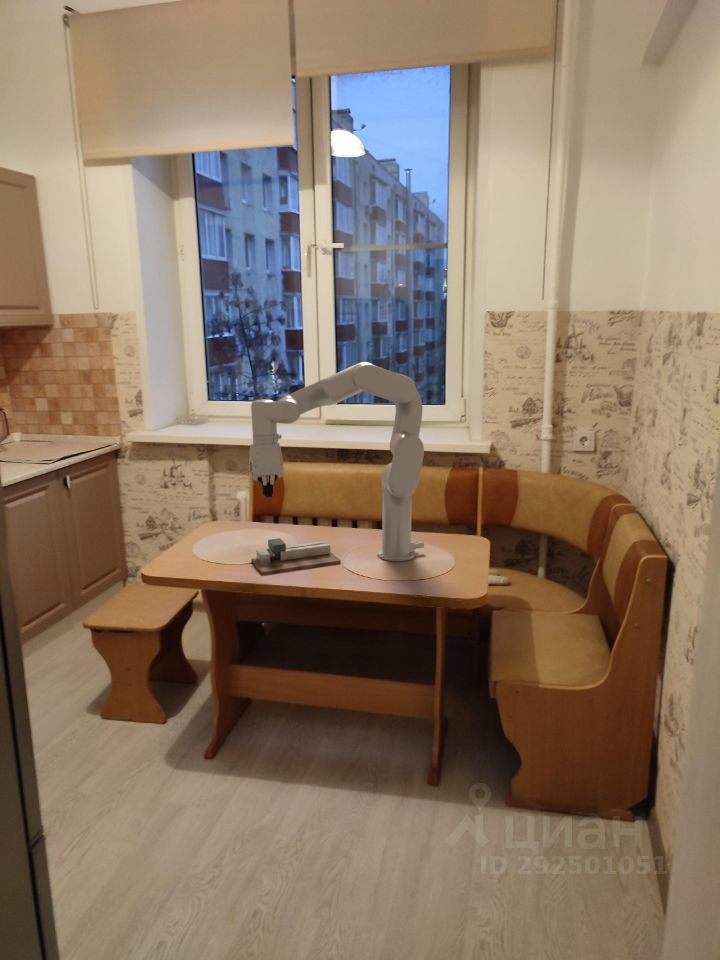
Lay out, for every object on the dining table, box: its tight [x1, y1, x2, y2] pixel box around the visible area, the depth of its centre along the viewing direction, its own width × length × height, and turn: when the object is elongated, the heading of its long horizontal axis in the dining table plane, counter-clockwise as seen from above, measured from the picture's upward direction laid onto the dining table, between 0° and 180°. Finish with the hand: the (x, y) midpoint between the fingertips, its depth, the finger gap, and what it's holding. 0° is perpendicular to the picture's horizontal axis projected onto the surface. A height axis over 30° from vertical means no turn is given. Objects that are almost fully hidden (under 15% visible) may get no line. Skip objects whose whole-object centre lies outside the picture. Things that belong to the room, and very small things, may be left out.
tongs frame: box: [255, 540, 328, 565], centre depth 217 cm, size 24×6×3 cm, turn 113°
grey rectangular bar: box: [269, 542, 332, 561], centre depth 218 cm, size 20×4×3 cm, turn 114°
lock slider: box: [267, 538, 287, 553], centre depth 215 cm, size 4×6×2 cm, turn 23°
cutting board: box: [251, 551, 342, 576], centre depth 216 cm, size 26×13×1 cm, turn 113°
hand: (268, 496), depth 212 cm, fingers closed
